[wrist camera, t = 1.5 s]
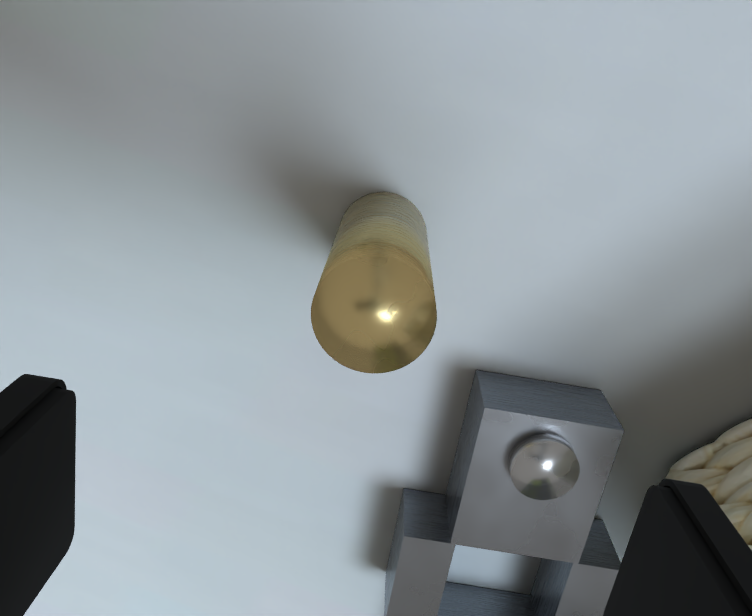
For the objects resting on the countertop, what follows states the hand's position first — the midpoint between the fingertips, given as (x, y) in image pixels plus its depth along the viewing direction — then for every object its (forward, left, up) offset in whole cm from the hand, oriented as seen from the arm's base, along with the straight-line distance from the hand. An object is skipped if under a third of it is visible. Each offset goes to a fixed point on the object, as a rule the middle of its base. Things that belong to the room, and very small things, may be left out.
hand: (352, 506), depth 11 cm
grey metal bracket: (+12, +7, -15) cm, 21 cm away
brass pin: (-1, 0, -15) cm, 15 cm away
